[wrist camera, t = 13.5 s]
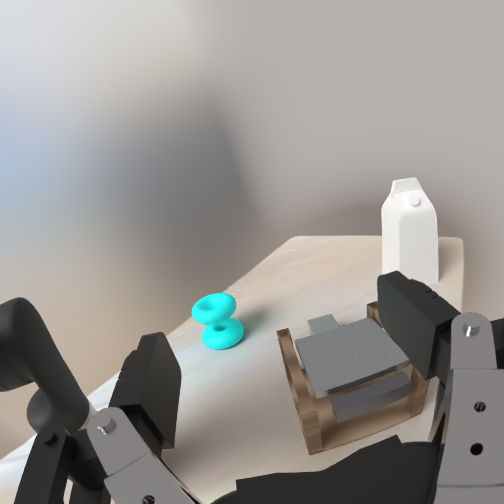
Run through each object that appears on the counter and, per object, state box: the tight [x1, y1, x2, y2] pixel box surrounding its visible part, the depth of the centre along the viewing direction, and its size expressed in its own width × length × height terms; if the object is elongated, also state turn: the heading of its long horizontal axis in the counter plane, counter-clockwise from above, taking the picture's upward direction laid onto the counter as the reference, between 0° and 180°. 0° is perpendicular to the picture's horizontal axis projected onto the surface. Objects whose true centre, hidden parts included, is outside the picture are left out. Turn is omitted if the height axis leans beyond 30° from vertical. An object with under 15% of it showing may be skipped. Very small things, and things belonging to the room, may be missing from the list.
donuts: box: [192, 293, 244, 350], centre depth 66 cm, size 10×10×10 cm
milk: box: [382, 178, 438, 285], centre depth 66 cm, size 12×12×26 cm
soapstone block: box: [308, 314, 339, 336], centre depth 53 cm, size 5×5×12 cm
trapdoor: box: [295, 317, 411, 423], centre depth 38 cm, size 17×13×3 cm
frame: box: [276, 301, 430, 455], centre depth 41 cm, size 18×18×11 cm
